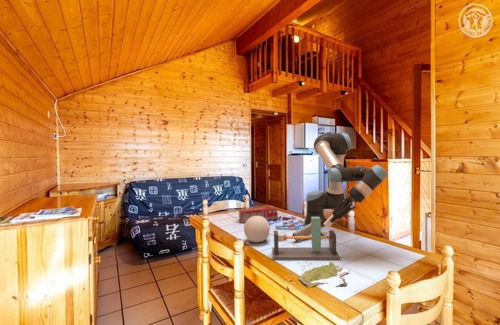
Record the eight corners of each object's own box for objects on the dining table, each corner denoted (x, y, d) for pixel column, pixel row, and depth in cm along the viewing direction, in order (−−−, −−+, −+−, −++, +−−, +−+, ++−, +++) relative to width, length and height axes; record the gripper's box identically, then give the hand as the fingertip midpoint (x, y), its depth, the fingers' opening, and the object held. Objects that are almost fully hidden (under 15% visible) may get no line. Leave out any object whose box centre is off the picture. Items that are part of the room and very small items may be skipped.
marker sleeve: (319, 247, 123) (319, 216, 123) (321, 250, 120) (320, 218, 120) (311, 247, 124) (311, 216, 123) (312, 250, 121) (312, 218, 120)
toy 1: (278, 220, 188) (278, 207, 188) (241, 224, 180) (241, 211, 180) (273, 216, 198) (273, 204, 198) (238, 220, 190) (238, 208, 190)
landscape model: (324, 301, 87) (324, 295, 86) (295, 279, 99) (295, 274, 98) (363, 281, 100) (364, 276, 99) (333, 264, 112) (334, 259, 112)
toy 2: (275, 242, 141) (274, 216, 140) (252, 248, 134) (251, 221, 133) (261, 235, 154) (261, 211, 153) (240, 240, 147) (239, 215, 146)
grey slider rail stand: (333, 250, 127) (333, 228, 127) (340, 260, 115) (340, 236, 115) (272, 250, 130) (271, 229, 129) (272, 260, 118) (272, 236, 118)
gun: (327, 232, 152) (324, 217, 151) (298, 250, 140) (294, 234, 138) (324, 231, 154) (321, 216, 153) (295, 249, 142) (291, 233, 140)
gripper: (349, 184, 126) (317, 217, 128) (358, 188, 113) (323, 224, 115) (360, 194, 126) (327, 227, 128) (370, 199, 113) (334, 235, 115)
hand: (325, 225), depth 121 cm, fingers closed
